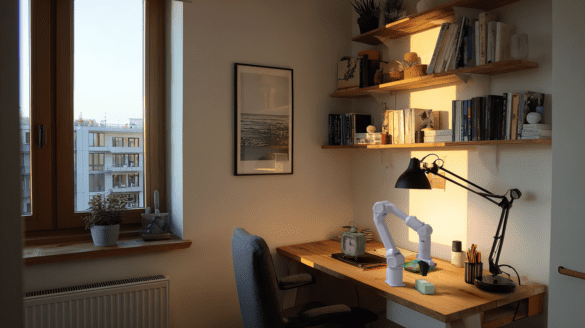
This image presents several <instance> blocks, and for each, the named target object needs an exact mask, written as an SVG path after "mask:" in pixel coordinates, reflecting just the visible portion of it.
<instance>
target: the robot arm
mask: <svg viewBox="0 0 585 328" xmlns="http://www.w3.org/2000/svg"><path fill="white" fill-rule="evenodd" d="M372 212H373V218H372V219H373V222H374V225H375V227H376V230H377V232H378V235H379V237H380V239H381V241H382V243H383V246H384V249H385V251H386V253H385V257H386V264H387V267H386V270H385V272H386V273H385V280H384V282H385V283H386V284H387V285H389V286H390V287H391V288H392V287H393V288H394V287H406V284H405V283H403V282H404V281H403V277H404V276H403V274H404V272H403V271H404V267H403V264H404V263H405V262H406V258H405V255H404V254H402V252H401V250H400V249H399V248H398V247H397V246H396V244H395V241H394V239H393V237H392V234H391V231H390V230H389V228H388V224H387V223H386V220H385V219H386V217H387V215H388V214H392V215H394V216H395V217H397V218H399V219H401V220H403V221H404V223H405V225H406V226H407V227H409V228H410V229H412V230H413V231H415V233H416V232H417V235H418V253H416V254H415V258H416V259H419V260H420V261H417V263H418V264H419V267H420V270H421V272H420V274H421V277H427V276H428V272H429V271H430V270H429V268H430V266H431V265H434V263H435V262H434V260H433V257H432V255H431V254H432V253H431V251H432V250H431V249H432V247H431V246H432V238H431V237H432V234H433V231H434V230H433V227H432V226H431V225H430V224H429V223H425V221H421V220H420V219H418V218H417V216H416V215H414V216H413V215H408V214H407V213H406V212H404V211H403V210H402V209H400V208H399V207H398V206H396V205H395V203H392V202H390V200H383V201H376V202H375V203H374V205H373V206H372Z"/></svg>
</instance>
